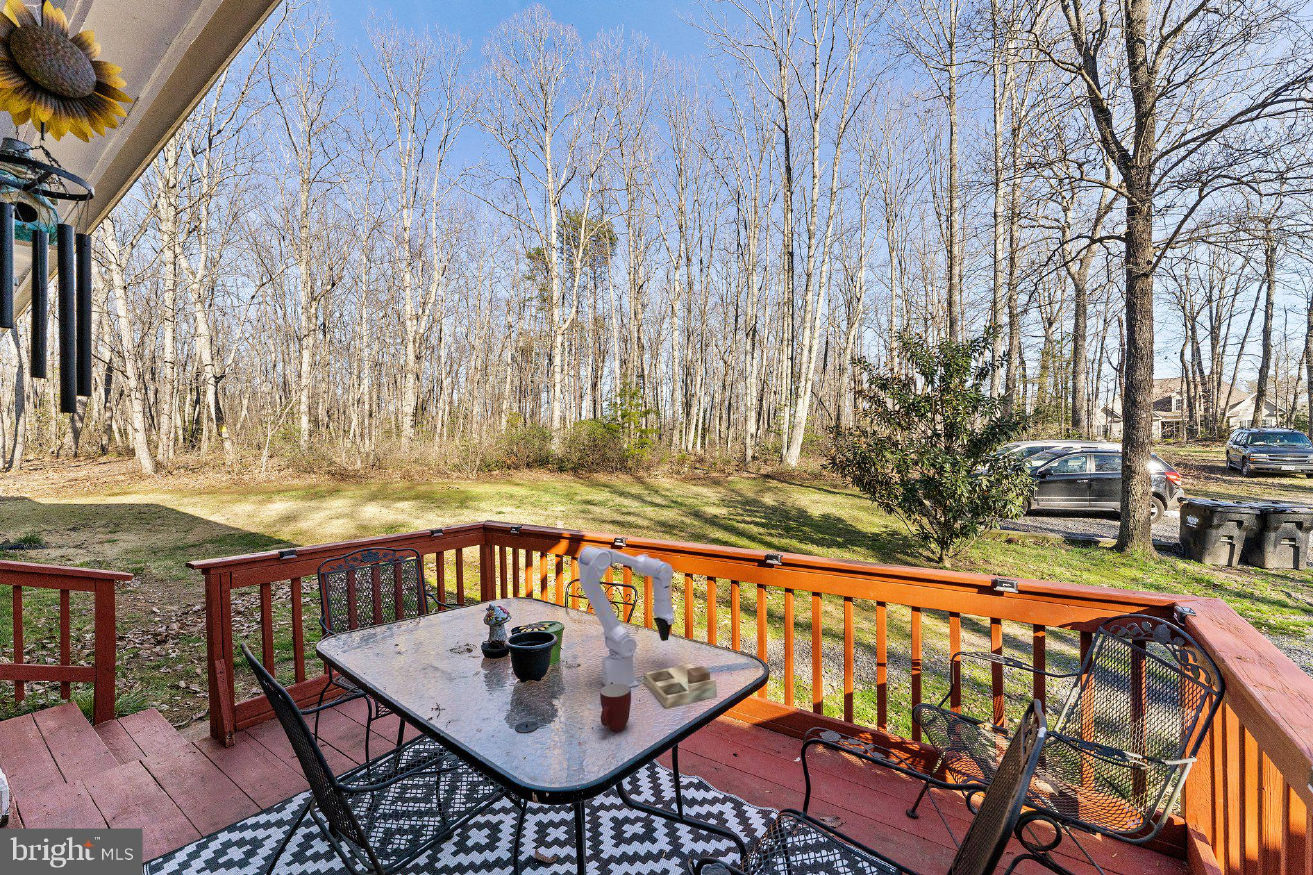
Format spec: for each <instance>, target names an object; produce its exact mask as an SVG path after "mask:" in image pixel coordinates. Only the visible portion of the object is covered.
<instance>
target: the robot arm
mask: <svg viewBox="0 0 1313 875" xmlns="http://www.w3.org/2000/svg"><path fill="white" fill-rule="evenodd" d="M577 564H578V567H579V568H578V569H579V572H578V573H579V574H578V575H579V576H578V577H579V585H580V587H581V589H582V591H583V594H585V596H586V598H587V600H588V602H589V604H590V606H591V608H592V610H593V611H594V614H595V615H596V617H597V619H598V621H599V623H600V625H601V627H602V629H603V632H602V634H603V637H604V644H605V646H606V648H607V649H608V651H609V652H608V653H609V655H607V656H605V657H602V660H601V668H602V669H601V670H602V681H601V682H602V683H603V685H604V686H606V685H609V684H615V683H621V684H626V685H628V686H629V687H630V688H632V687H637V686H639V682H638V681H637V679H636V678H635V670H634V654H635V653H636V650H637V647H638V643H637V640H636V638H635V637H634V636H631V635H630V633H629V631H628V630H627V629H626V628H625V627H624V626H623V625H622V623H621V621H620V620H619V617H618V616H617V614H616V612H615V611H614V608H613V607H612V605H611V603H610V600H609V599H608V597H607V595H606V593H605V592H604V590H603V587H602V586H601V584H600V581H601V579H602V578H603V577H604V576H605V574H606V572H607V571H608V569H609V568H610V566H611V567H612V566H614V565H615V564H619V565H623V566H627V567H631V568H632V569H633V571H634V573H636V574H640V575H643V576H646V577H649V578H650V577H651V578H652V586H653V587H652V588H653V590H652V591H653V592H652V593H653V606H652V613H653V616H654V618H653V621H654V623H655V625H656V628H657V631H658V634H659V638H660V641H661V642H665V641H668V640H669V637H670V632H671V628H672V625H674V624H675V617H674V614H675V613H676V610H675V609H674V608H672V607H673V606H672V588H671V586H672V578H673V577H674V573H675V571H674V569H673V567H672V565H671V564H670V563H668V562H665V561H661V559H659V558H657V557H656V558H652V557H649V555H648V554H646V553H642V554H639V555H637V556H632V555H629V554H626V553H623V552H621V551H617V550H614V549H610V548H606V547H594V546H593V545H587V546H586V545H585V546H584V547H583V548H581V551H580V552H579V555H578V558H577Z"/></svg>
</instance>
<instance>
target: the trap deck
mask: <svg viewBox="0 0 1313 875" xmlns="http://www.w3.org/2000/svg"><path fill="white" fill-rule="evenodd" d="M690 668H695V666H694V665H693V664H692V663H688V664H684V665H680V666H679V665H678V666H674V667H670V668H664V669H659V670H655V671H651V672H645V673H643V684H644V685H645V686H646V688H647V689H648V688H649V689H648V690H649V691H650V692H651V694H652V695H653V696H654V697H655V699H657V701H658V702H659V703H660V704H661V705H662V706H663V708H664V709H665V710H666V709H671V708H674V707H678V706H684V705H687V704H691V703H696V702H700V701H703V700H708V699H713V698H714V699H715V698H718V694H717V693H718V692H717V691H718V690H717V679H716V678H713V679H710V680H707V681H702V682H698V683H693V684H689V683H688V675H687V669H690Z"/></svg>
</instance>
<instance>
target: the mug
mask: <svg viewBox="0 0 1313 875" xmlns="http://www.w3.org/2000/svg"><path fill="white" fill-rule="evenodd" d="M631 688H632V687H629V686H628V685H626V684H621V683H615V684H609V685H606V686H605V685H604V686H603V687H602V688H601V689H600V690H599V692H600V693H599V694H600V698H599V700H600V706H601V714H600V723H601V725H602V726H603V727H606V728H607V727H608V729H609V730H610V731H612V732H621V731H623V730H624V729H625V728H626V725H627V724H628V722H629V719H630V714H631V713H630V712H631V704H632V689H631Z"/></svg>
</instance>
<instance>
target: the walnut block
mask: <svg viewBox="0 0 1313 875" xmlns="http://www.w3.org/2000/svg"><path fill="white" fill-rule="evenodd" d="M694 667H695V666H694ZM687 675H688V683H689V684H693V683H698V682H702V681H707V680H711V672H710V671H709V670H708V669H707V668H706V667H705V666H703V665H700V666H696V667H695V668H690V669H687Z"/></svg>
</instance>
